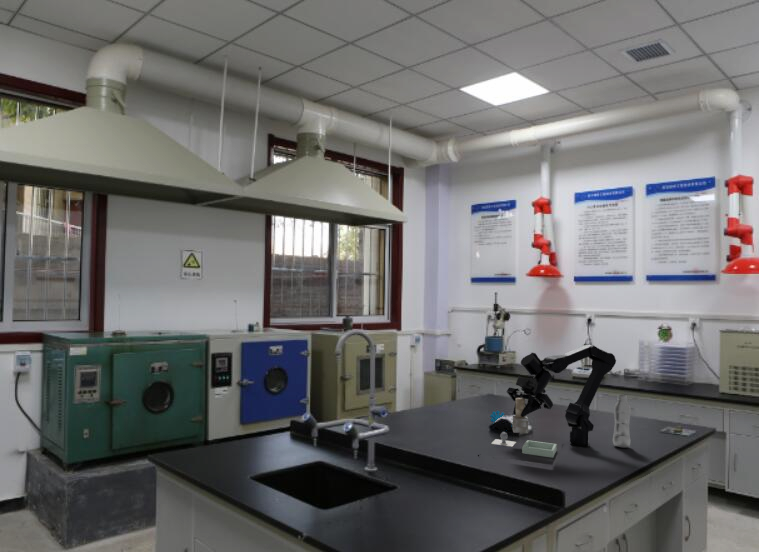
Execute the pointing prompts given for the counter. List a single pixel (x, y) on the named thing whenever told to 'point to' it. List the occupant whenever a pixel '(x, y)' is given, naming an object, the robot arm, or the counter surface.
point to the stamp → (520, 417)
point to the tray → (539, 448)
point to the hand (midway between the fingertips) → (517, 415)
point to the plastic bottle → (622, 422)
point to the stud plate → (503, 440)
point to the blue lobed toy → (496, 416)
